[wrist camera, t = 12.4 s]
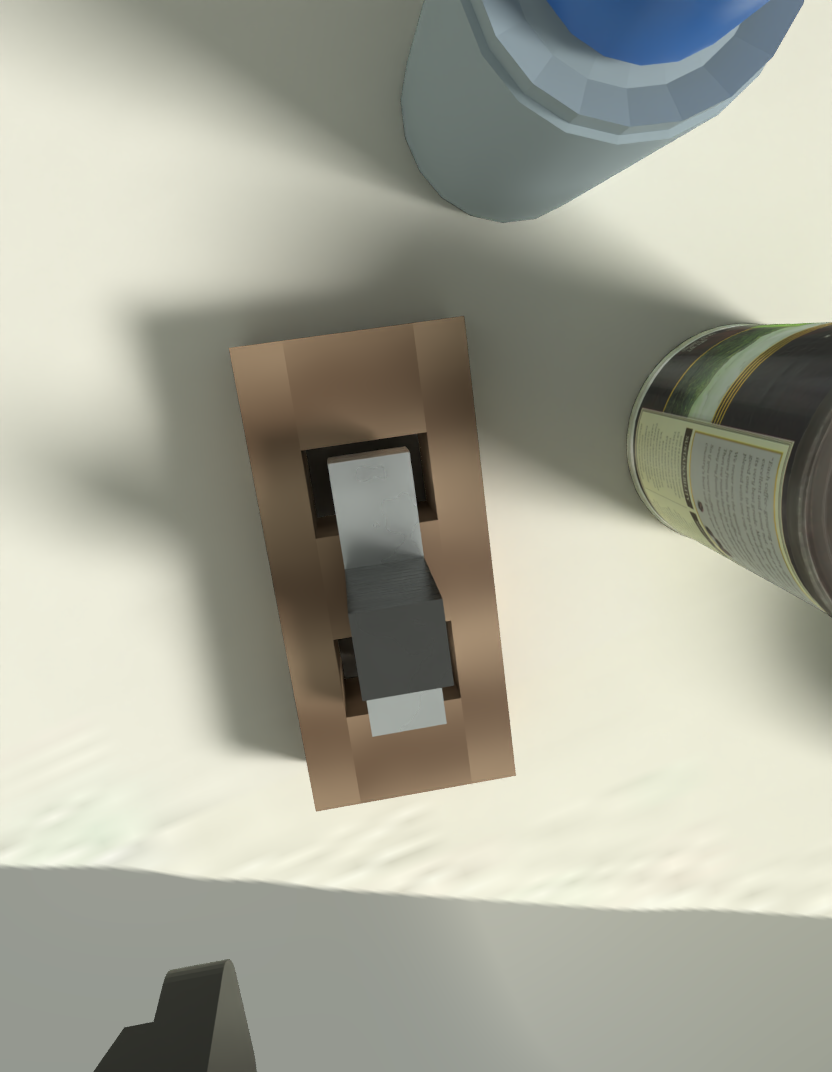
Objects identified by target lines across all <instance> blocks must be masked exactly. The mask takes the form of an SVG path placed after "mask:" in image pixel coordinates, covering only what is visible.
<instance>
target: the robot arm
mask: <svg viewBox="0 0 832 1072" xmlns="http://www.w3.org/2000/svg"><path fill="white" fill-rule="evenodd" d="M94 1072H257V1071H256V1062H255V1056H254V1051H253V1046H252V1042H251V1038H250V1033H249V1029H248V1024H247V1020H246V1016H245V1012H244V1007H243V1003H242V998H241V994H240V989H239V985H238V981H237V977H236V972H235V968H234V965H233V963H232V961H231V960H230V959H227V960H221V961H216V962H210V963H206V964H200V965H194V966H189V967H184V968H179V969H173V970H170V971H169V972H168V973H167V974H166V977H165V979H164V983H163V986H162V991H161V994H160V999H159V1003H158V1006H157V1011H156V1014H155V1019H154V1022H151V1023H145V1024H140V1025H135V1026H130V1027H125V1028H124V1029H123V1030H122V1032H121V1033H120V1035H119V1036H118V1037H117V1039H116V1040H115V1042H114V1043H113V1044H112V1046H111V1047H110V1049H109V1050H108V1052H107V1053H106V1055H105V1056H104V1057H103V1059H102V1060H101V1062H100V1063H99V1064H98V1066H97V1067H96V1069H95V1070H94Z"/></svg>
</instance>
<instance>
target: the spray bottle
mask: <svg viewBox="0 0 832 1072" xmlns="http://www.w3.org/2000/svg"><path fill="white" fill-rule="evenodd" d="M803 3H804V0H424V3H423V6H422V10H421V13H420V17H419V21H418V24H417V28H416V31H415V35H414V39H413V42H412V46H411V49H410V53H409V57H408V60H407V65H406V71H405V77H404V83H403V89H402V95H401V107H402V115H403V123H404V132H405V138H406V141H407V143H408V145H409V147H410V150H411V152H412V154H413V157H414V159H415V161H416V164H417V166H418V168H419V171H420V172H421V173H422V175H423V176H424V177H425V178H426V179H427V180H428V182H429V183H430V184H431V185H432V186H433V187H434V189H435V190H436V191H437V192H438V193H439V195H440V196H441V197H442V198H443V199H445V200H446V201H448V202H450V203H451V204H453V205H455V206H456V207H458V208H459V209H461V210H463V211H464V212H466V213H468V214H469V215H471V216H475V217H479V218H484V219H488V220H493V221H497V222H502V223H505V222H513V221H521V220H529V219H536V218H538V217H540V216H542V215H544V214H546V213H548V212H550V211H552V210H554V209H556V208H558V207H560V206H562V205H564V204H566V203H568V202H569V201H571V200H573V199H574V198H576V197H578V196H580V195H581V194H583V193H585V192H586V191H588V190H590V189H592V188H593V187H595V186H597V185H598V184H600V183H602V182H604V181H605V180H607V179H609V178H610V177H612V176H614V175H616V174H617V173H619V172H621V171H622V170H624V169H626V168H628V167H629V166H631V165H633V164H634V163H636V162H638V161H640V160H641V159H643V158H645V157H646V156H648V155H650V154H652V153H653V152H655V151H657V150H658V149H660V148H662V147H663V146H665V145H667V144H669V143H670V142H672V141H674V140H675V139H677V138H679V137H681V136H682V135H684V134H686V133H687V132H689V131H691V130H693V129H694V128H696V127H698V126H699V125H701V124H703V123H705V122H706V121H708V120H710V119H711V118H713V117H715V116H717V115H718V114H719V113H720V112H721V111H722V110H723V109H725V108H726V107H727V106H728V105H729V104H730V103H731V102H732V101H733V100H734V99H735V98H736V97H737V96H738V95H739V94H740V93H741V92H742V91H743V90H744V89H745V88H746V87H747V86H748V85H749V84H750V83H751V82H752V81H753V80H754V79H755V78H757V77H758V76H759V75H760V73H761V71H762V70H763V68H764V66H765V64H766V63H767V62H768V61H769V60H770V59H771V58H772V57H773V56H774V54H775V52H776V50H777V49H778V47H779V45H780V43H781V42H782V40H783V38H784V36H785V35H786V33H787V31H788V29H789V28H790V26H791V24H792V22H793V21H794V19H795V17H796V15H797V14H798V12H799V10H800V8H801V7H802V5H803Z"/></svg>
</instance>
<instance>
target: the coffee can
mask: <svg viewBox="0 0 832 1072" xmlns="http://www.w3.org/2000/svg"><path fill="white" fill-rule="evenodd" d="M627 457H628V464H629V469H630V473H631V476H632V480H633V482H634V485H635V488H636V491H637V493H638V494H639V496H640V498H641V499H642V501H643V502H644V503H645V505H646V506H647V507H648V509H649V510H650V511H651V513H652V514H653V515H654V516H656V517H657V518H658V519H659V520H660V521H661V522H662V523H663V524H664V525H666V526H667V527H669V528H671V529H672V530H674V531H676V532H678V533H679V534H682V535H684V536H687V537H689V538H692V539H694V540H696V541H698V542H699V543H701V544H703V545H705V546H707V547H708V548H710V549H712V550H714V551H716V552H717V553H719V554H721V555H723V556H725V557H726V558H728V559H730V560H732V561H733V562H735V563H737V564H738V565H740V566H742V567H744V568H746V569H748V570H750V571H752V572H753V573H755V574H757V575H759V576H760V577H762V578H764V579H766V580H768V581H770V582H771V583H773V584H775V585H777V586H779V587H780V588H782V589H784V590H786V591H788V592H789V593H791V594H793V595H795V596H796V597H798V598H800V599H802V600H804V601H805V602H807V603H809V604H811V605H812V606H814V607H816V608H818V609H820V610H821V611H823V612H825V613H827V614H828V615H829V616H830V617H831V618H832V322H826V323H802V324H770V325H759V324H732V325H725V326H721V327H716V328H713V329H710V330H707V331H704V332H702V333H700V334H698V335H696V336H693V337H691V338H689V339H688V340H686V341H684V342H683V343H681V344H680V345H679V346H678V347H676V348H675V349H674V350H672V351H671V352H670V353H669V354H668V355H667V356H666V357H665V358H664V359H663V360H662V361H661V362H660V363H659V364H658V365H657V366H656V368H655V369H654V370H653V371H652V372H651V374H650V375H649V377H648V378H647V380H646V382H645V383H644V385H643V386H642V388H641V390H640V392H639V394H638V396H637V399H636V401H635V404H634V406H633V409H632V412H631V416H630V420H629V426H628V434H627Z"/></svg>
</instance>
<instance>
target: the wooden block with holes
mask: <svg viewBox="0 0 832 1072" xmlns="http://www.w3.org/2000/svg"><path fill="white" fill-rule="evenodd" d="M229 352H230V357H231V362H232V368H233V373H234V378H235V384H236V389H237V394H238V400H239V405H240V410H241V416H242V421H243V426H244V432H245V437H246V442H247V447H248V453H249V458H250V463H251V469H252V474H253V479H254V485H255V490H256V495H257V501H258V506H259V511H260V517H261V522H262V527H263V533H264V538H265V543H266V548H267V554H268V559H269V564H270V570H271V575H272V580H273V586H274V591H275V596H276V602H277V607H278V612H279V618H280V623H281V628H282V634H283V639H284V644H285V649H286V655H287V660H288V665H289V671H290V676H291V681H292V687H293V692H294V697H295V703H296V708H297V713H298V719H299V724H300V729H301V734H302V740H303V745H304V750H305V756H306V761H307V766H308V772H309V777H310V782H311V788H312V793H313V798H314V804H315V809H316V811H321V810H327V809H333V808H338V807H344V806H349V805H355V804H360V803H366V802H371V801H377V800H383V799H388V798H394V797H399V796H405V795H410V794H416V793H422V792H427V791H433V790H438V789H444V788H449V787H455V786H460V785H466V784H472V783H477V782H483V781H488V780H494V779H499V778H505V777H511V776H516V773H515V764H514V755H513V746H512V737H511V729H510V720H509V711H508V702H507V693H506V684H505V675H504V666H503V657H502V648H501V640H500V631H499V622H498V613H497V604H496V595H495V586H494V577H493V568H492V560H491V551H490V542H489V533H488V524H487V515H486V506H485V497H484V488H483V479H482V471H481V462H480V453H479V444H478V435H477V426H476V417H475V408H474V399H473V390H472V382H471V373H470V364H469V355H468V346H467V337H466V328H465V319H464V316H460V317H452V318H445V319H438V320H430V321H423V322H416V323H408V324H401V325H394V326H386V327H379V328H372V329H364V330H357V331H350V332H342V333H335V334H328V335H320V336H313V337H306V338H298V339H291V340H284V341H276V342H269V343H262V344H254V345H247V346H240V347H232V348H229ZM410 434H418V442H419V449H420V457H421V464H422V472H423V479H424V487H425V495H426V501H421V502H417V510H418V517H419V524H420V532H421V539H422V546H423V554H424V558H425V560H426V562H427V565H428V567H429V569H430V571H431V574H432V576H433V578H434V581H435V583H436V585H437V587H438V590H439V592H440V594H441V596H442V599H443V606H444V613H445V621H446V628H447V636H448V643H449V651H450V658H451V666H452V674H453V681H454V686H449V687H443V688H442V692H443V700H444V707H445V714H446V722H447V724H442V725H437V726H431V727H425V728H419V729H414V730H408V731H402V732H397V733H391V734H385V735H380V736H374V737H372V731H371V725H370V719H369V713H368V707H367V701H362V696H361V689H360V683H359V677H353V678H347V679H345V678H344V672H343V666H342V660H341V655H340V649H339V643H338V639H342V638H348V637H352V635H351V629H350V623H349V617H348V607H347V593H346V579H345V567H344V561H343V555H342V549H341V543H340V537H339V531H338V525H337V519H336V515H329V516H323V517H317V513H316V507H315V501H314V495H313V489H312V483H311V477H310V471H309V465H308V459H307V454H306V450H308V449H315V448H322V447H329V446H335V445H342V444H349V443H356V442H363V441H369V440H376V439H383V438H390V437H397V436H404V435H410Z"/></svg>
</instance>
